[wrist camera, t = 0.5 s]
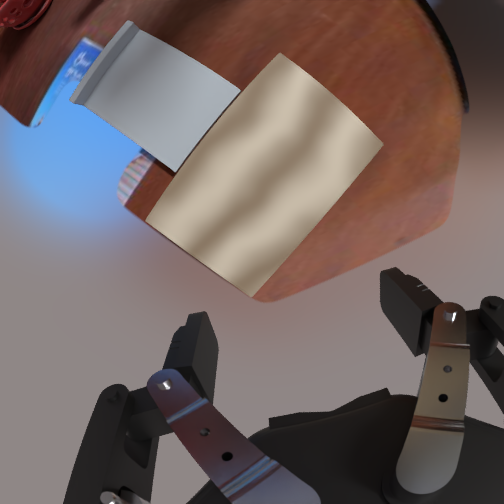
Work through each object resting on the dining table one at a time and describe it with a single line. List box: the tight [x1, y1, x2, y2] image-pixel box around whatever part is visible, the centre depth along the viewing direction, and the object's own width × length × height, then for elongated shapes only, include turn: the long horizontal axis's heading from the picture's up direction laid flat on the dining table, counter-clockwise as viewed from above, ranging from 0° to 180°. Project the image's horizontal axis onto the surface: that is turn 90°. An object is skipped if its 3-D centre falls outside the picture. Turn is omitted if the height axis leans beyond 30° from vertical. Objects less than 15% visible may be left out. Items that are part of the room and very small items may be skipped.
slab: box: [69, 20, 241, 172], centre depth 31 cm, size 20×14×4 cm
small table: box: [145, 53, 384, 297], centre depth 31 cm, size 14×21×12 cm, turn 141°
